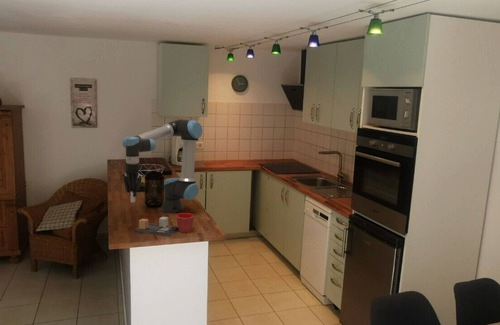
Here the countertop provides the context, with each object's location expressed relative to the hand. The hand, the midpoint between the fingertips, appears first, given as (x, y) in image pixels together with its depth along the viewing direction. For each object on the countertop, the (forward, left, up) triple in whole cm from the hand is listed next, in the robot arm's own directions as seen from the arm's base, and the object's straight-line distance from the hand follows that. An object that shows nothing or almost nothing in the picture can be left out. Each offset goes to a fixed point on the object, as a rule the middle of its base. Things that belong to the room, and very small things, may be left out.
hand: (133, 201), depth 251 cm
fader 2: (-8, +16, -15) cm, 24 cm away
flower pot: (-11, +29, -18) cm, 36 cm away
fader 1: (0, +7, -15) cm, 17 cm away
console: (-4, +14, -18) cm, 23 cm away
